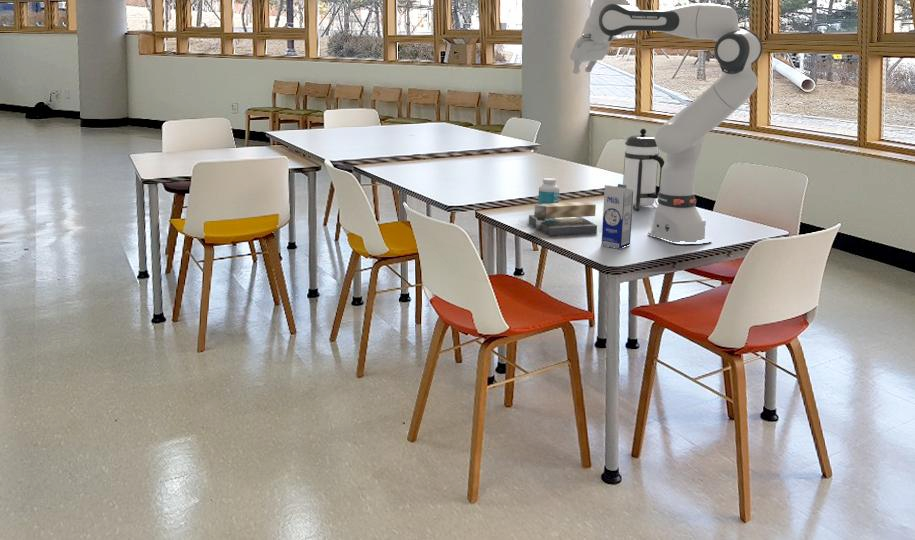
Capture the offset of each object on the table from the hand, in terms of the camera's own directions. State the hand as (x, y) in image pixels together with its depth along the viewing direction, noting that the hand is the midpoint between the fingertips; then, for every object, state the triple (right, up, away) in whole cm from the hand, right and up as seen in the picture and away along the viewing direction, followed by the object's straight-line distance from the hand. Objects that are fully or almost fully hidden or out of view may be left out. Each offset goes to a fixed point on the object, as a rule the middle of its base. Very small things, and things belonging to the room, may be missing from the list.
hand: (581, 72), depth 328 cm
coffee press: (+27, -45, +36) cm, 63 cm away
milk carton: (+8, -61, -22) cm, 65 cm away
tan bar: (-6, -50, -1) cm, 50 cm away
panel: (-7, -54, 0) cm, 54 cm away
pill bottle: (-10, -48, +20) cm, 53 cm away
